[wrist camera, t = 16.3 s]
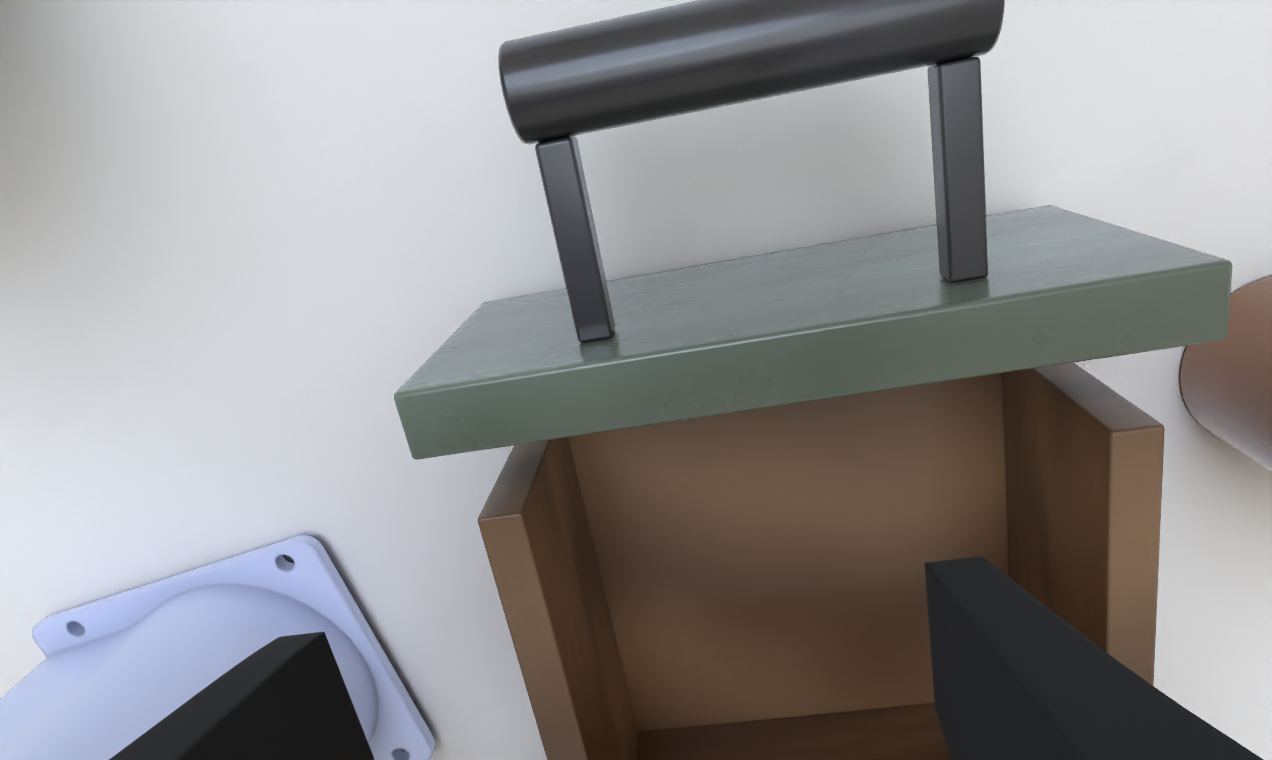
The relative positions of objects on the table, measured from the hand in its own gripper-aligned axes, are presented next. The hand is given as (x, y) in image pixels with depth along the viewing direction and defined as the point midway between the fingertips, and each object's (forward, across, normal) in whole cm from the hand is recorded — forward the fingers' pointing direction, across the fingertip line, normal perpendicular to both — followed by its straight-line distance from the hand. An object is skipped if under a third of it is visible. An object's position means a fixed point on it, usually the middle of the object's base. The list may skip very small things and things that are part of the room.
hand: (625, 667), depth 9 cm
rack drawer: (+10, -3, +1) cm, 10 cm away
